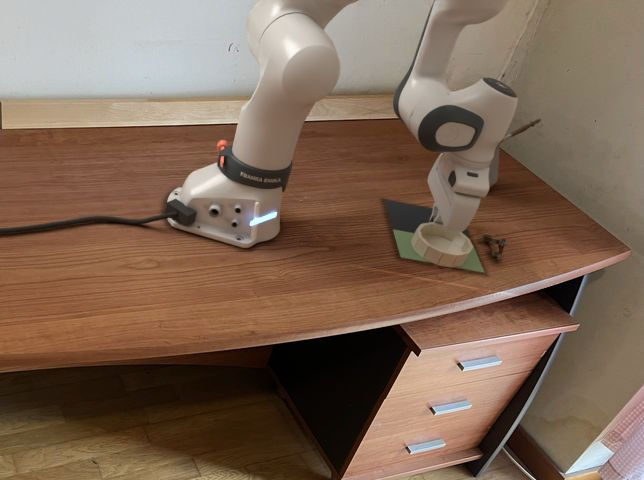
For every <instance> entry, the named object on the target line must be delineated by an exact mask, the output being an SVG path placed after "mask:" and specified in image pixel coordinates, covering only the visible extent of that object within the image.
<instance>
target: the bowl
mask: <svg viewBox="0 0 644 480" xmlns="http://www.w3.org/2000/svg"><path fill="white" fill-rule="evenodd" d="M470 239H471V238H470ZM470 239H469V238H468V237H467V236H465V235H464V234H463V233H462V232H453V231H449V230H446V229H445V227H444V224H440V223H435V222H429V223H423V224H421V225H420V226H419V227H418V228H417V229H416V232H415V234H414V236H413V238H412V240H411V244H412V247H413V250H414V251H415V252H416V253H417V254H419V255H420V256H421V257H422V258H424V259H425V260H427V261H429V262H431V263H430V264H434V265H437V266H440V267H445V268H449V269H450V268H451V269H452V268H456V267H458V266H462V265H463V264H464V263H465V261H466V260H467V258H468V256H469V254H470V253H471V251H472V249H473V246H474V245H473V246H472V243H473V242H472V243H471V241H472V240H471V241H470ZM429 262H428V263H429Z"/></svg>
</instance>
